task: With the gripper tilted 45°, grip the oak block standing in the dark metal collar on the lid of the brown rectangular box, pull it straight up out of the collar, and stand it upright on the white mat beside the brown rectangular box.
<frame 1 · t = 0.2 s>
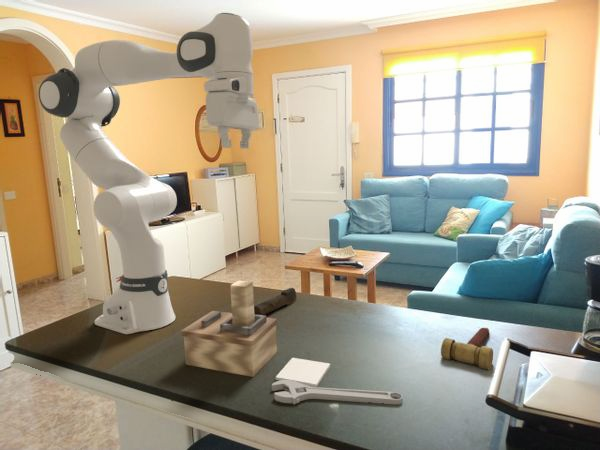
hand: (235, 148, 106), 48 cm above the kitchen counter, tool pointing down, fingers open, 8 cm apart
white mat: (303, 372, 94), on the kitchen counter
hand tool: (275, 309, 133), on the kitchen counter
brown rectangular box: (232, 358, 102), on the kitchen counter
oak block: (244, 326, 99), point 8 cm above the kitchen counter, touching brown rectangular box
gavel: (476, 349, 104), on the kitchen counter
adjustable wrench: (333, 401, 85), on the kitchen counter
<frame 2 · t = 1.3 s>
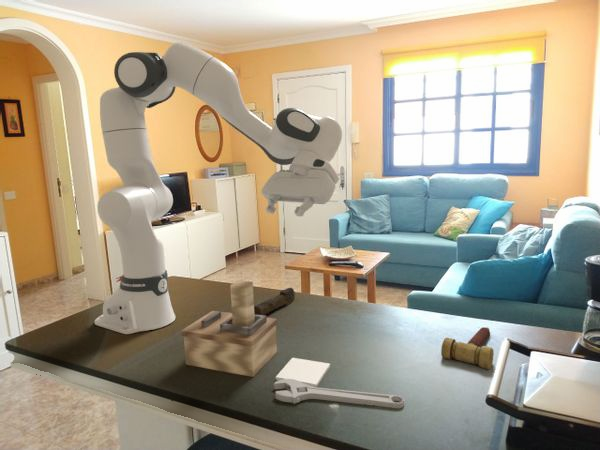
hand: (283, 213, 108), 32 cm above the kitchen counter, tool tilted 45°, fingers open, 8 cm apart
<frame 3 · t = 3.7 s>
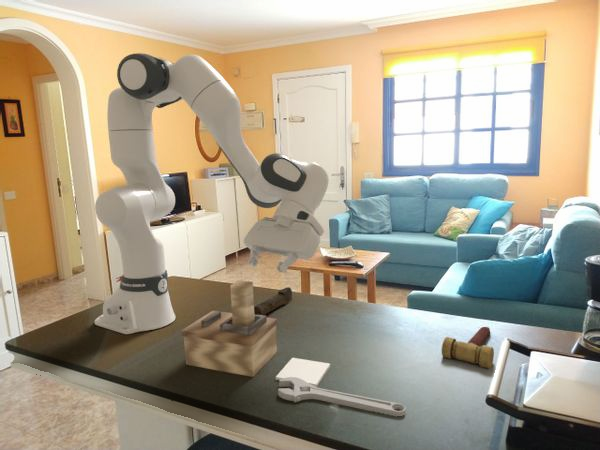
hand: (265, 268, 103), 20 cm above the kitchen counter, tool tilted 45°, fingers open, 8 cm apart
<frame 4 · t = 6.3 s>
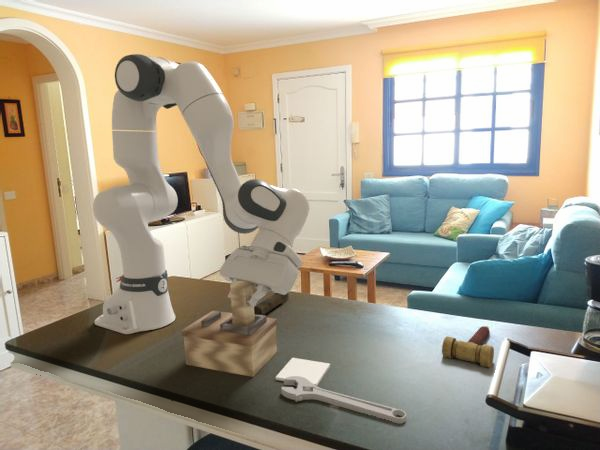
hand: (240, 302, 98), 14 cm above the kitchen counter, tool tilted 45°, fingers closed on oak block, 4 cm apart
oak block: (244, 326, 99), point 8 cm above the kitchen counter, touching gripper, brown rectangular box
adjustable wrench: (336, 406, 83), on the kitchen counter, touching white mat
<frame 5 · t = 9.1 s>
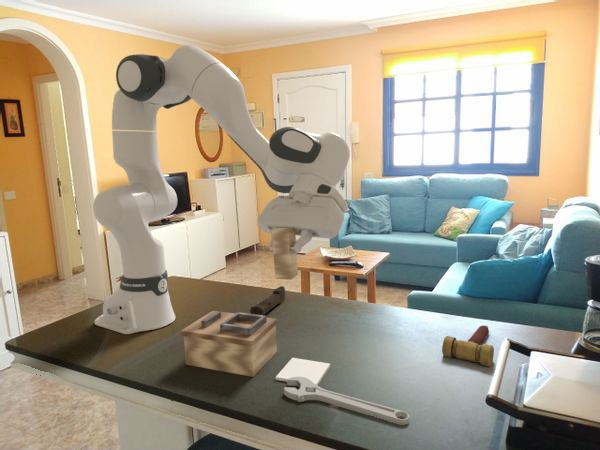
hand: (283, 249, 91), 27 cm above the kitchen counter, tool tilted 45°, fingers closed on oak block, 4 cm apart
oak block: (286, 276, 92), point 21 cm above the kitchen counter, touching gripper
adjustable wrench: (339, 407, 83), on the kitchen counter
when the fingers open (8 cm above the kitchen counter, at t = 12.3 s): oak block drops 1 cm, resting on white mat.
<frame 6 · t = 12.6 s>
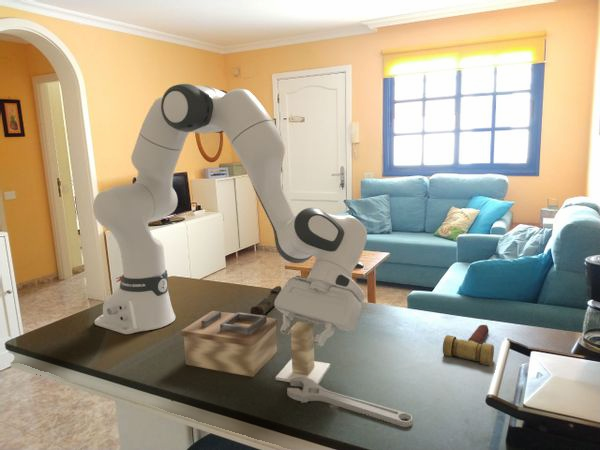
hand: (300, 338, 93), 8 cm above the kitchen counter, tool tilted 45°, fingers open, 8 cm apart
oak block: (303, 370, 94), point 1 cm above the kitchen counter, touching white mat
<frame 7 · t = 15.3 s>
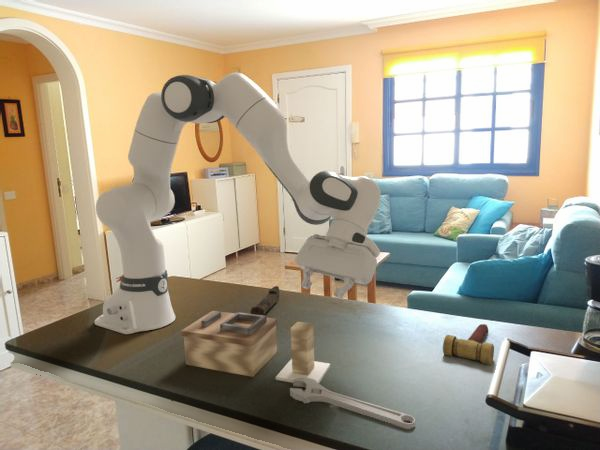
hand: (320, 292, 100), 15 cm above the kitchen counter, tool tilted 40°, fingers open, 8 cm apart
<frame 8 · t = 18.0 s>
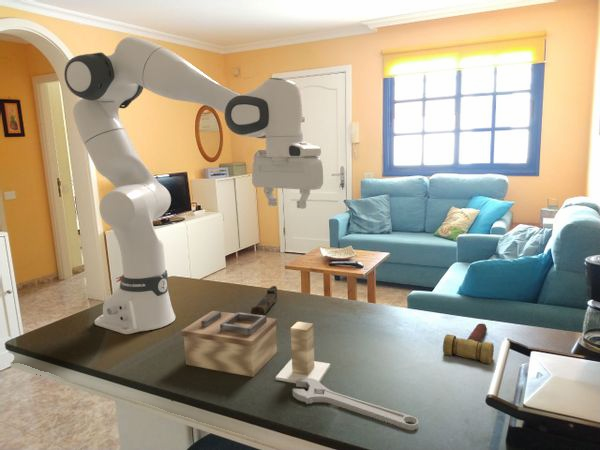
hand: (286, 206, 108), 33 cm above the kitchen counter, tool pointing down, fingers open, 8 cm apart
at the end: oak block 0.0 cm off-centre on the white mat, point 0.6 cm above the white mat's base; oak block tilted 0°; the gripper is holding nothing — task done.
